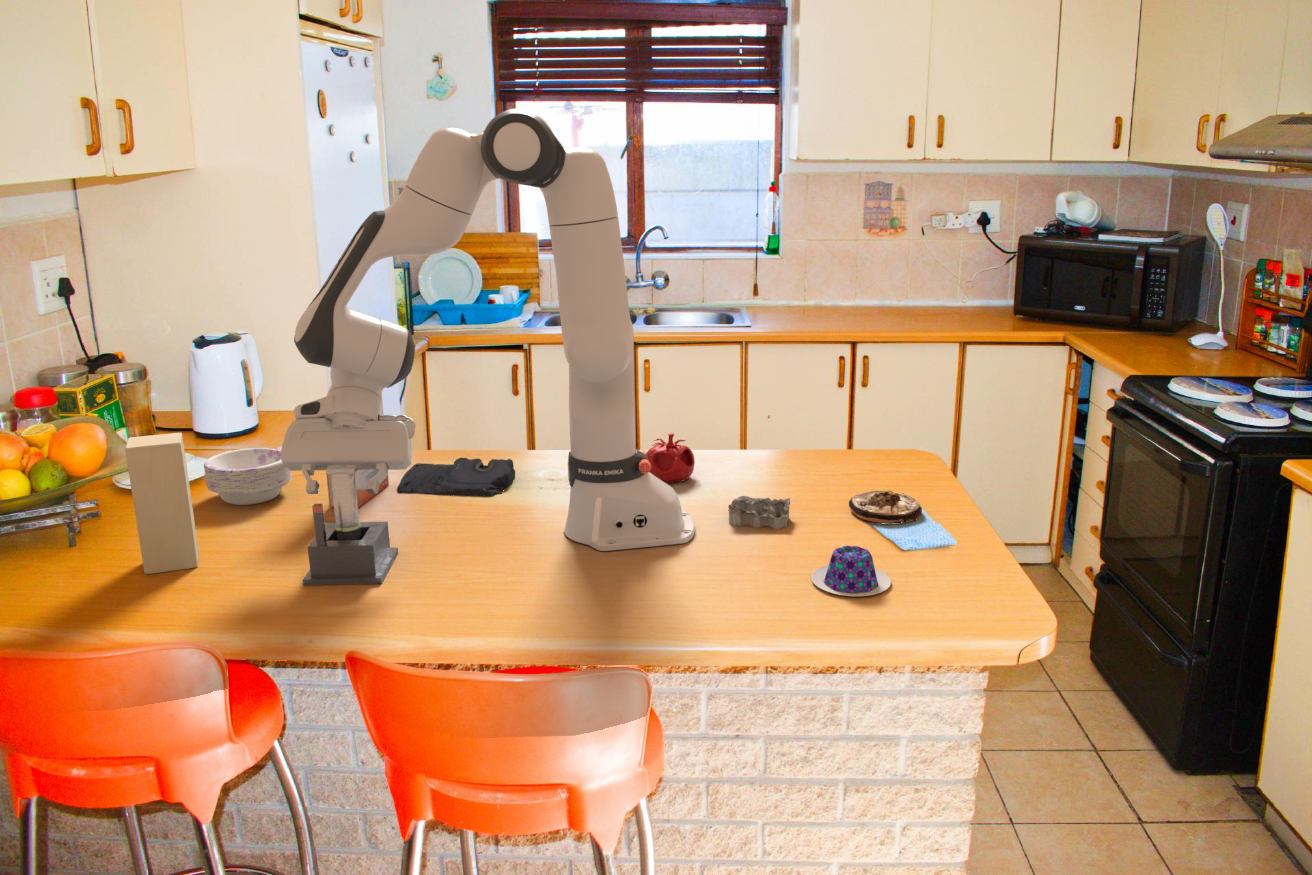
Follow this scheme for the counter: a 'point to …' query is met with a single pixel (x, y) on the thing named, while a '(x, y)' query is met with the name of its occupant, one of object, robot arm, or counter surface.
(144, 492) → the upright wooden block
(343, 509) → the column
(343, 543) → the housing
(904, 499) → the chocolate cream pie
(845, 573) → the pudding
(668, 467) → the pomegranate
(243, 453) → the paper bowls
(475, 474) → the folded black cloth
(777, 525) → the egg carton
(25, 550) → the counter surface
